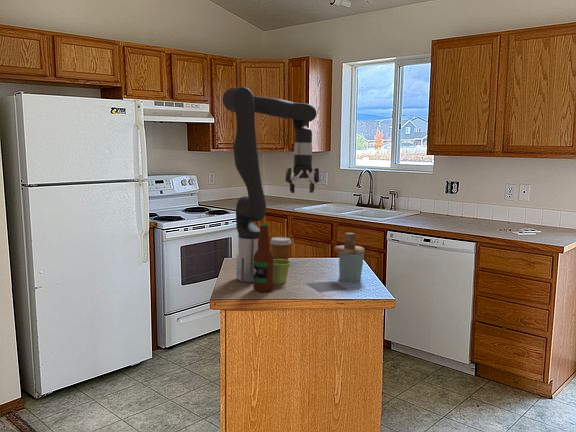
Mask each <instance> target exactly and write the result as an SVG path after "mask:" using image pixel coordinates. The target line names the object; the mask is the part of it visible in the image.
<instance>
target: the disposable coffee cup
mask: <svg viewBox="0 0 576 432" xmlns="http://www.w3.org/2000/svg"><path fill="white" fill-rule="evenodd" d="M269 242H270V247H271V253H272V254H273V259H285V260H289V256H290V250H291V249H290V248H291V244H292V241H291V238H290V237H285V236H274V237H272V238H271V240H269Z"/></svg>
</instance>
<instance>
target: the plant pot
mask: <svg viewBox="0 0 576 432" xmlns="http://www.w3.org/2000/svg"><path fill="white" fill-rule="evenodd" d="M291 263H292V262H291V261H290V260H289V259H288V260H285V259H273V285H274V284H277V285H282V284H286V283H287V279H288V274H289V268H290V265H291Z"/></svg>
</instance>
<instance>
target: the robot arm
mask: <svg viewBox="0 0 576 432" xmlns="http://www.w3.org/2000/svg"><path fill="white" fill-rule="evenodd" d="M222 104H223V106H224V107H225V108H226V110H228V111H230V112H232V113H235V117H236V125H237V126H236V134H235V138H234V141H233V157H234V164H235V169H236V171H237V172H238V174H239V176H240V178H241V179H242V181H243V183H244V185H245V187H246V191H247V196H242V197H240V198H238V200H237V202H236V206H235V222H236V224H235V225H236V231H237V234H238V241H237V243H238V244H237V245H238V246H237V247H238V248H237V249H238V251H237V254H236V272H235V273H236V276H235V277H236V279H237V280H238V281H240V282H247V283H248V282H249V283H250V282H251V283H252V282H253V275H254V255H255V253H256V251H257V250H258V239H259V234H260V230H259V229H260V227H258V226H257V224H256V223H255V222H261V221H262V220H264V218H265V217H266V213H267V202H266V198H265V194H264V190H263V184H262V177H261V176H262V175H261V170H260V159H259V158H260V157H259V150H258V144H257V133H256V123H255V121H256V120H255V119H256V117H255V114H260V115H262V114H263V115H266V116H272V117H274V118H275V117H276V118H281V119H285V120H286V119H287V120H288V119H289V120H292V124H293V129H294V147H293V167H292V168H291V167H286V171H285V183H288V184H289V192H290V193H291V194H295V191H296V190H295V186H296V184H295V183H296V182H297V180H298V179H307V180H308V182H309V193H310V194H313V193H314V191H315V184H316V183H319V182H320V171H319V170H320V169H319V168H318V167H314V168H313V143H312V142H313V131H312V129H311V128H309V127H308V124H307V123H310V122H312V121H314V120H315V119H316V117H317V109H316V108H315V106H313V105H311V103H310V104H309V103H302V102H294V101H290V100H285V99H282V98H281V99H280V98H275V97H265V96H257V95H254V94H253V92H252V91H251V90H250V89H249V87H244V86H236V87H231V88H228V89H227V90H225V92H224V93H223V96H222ZM292 173H293V175H292ZM312 173H313V176H312ZM291 176H292V177H291Z"/></svg>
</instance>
